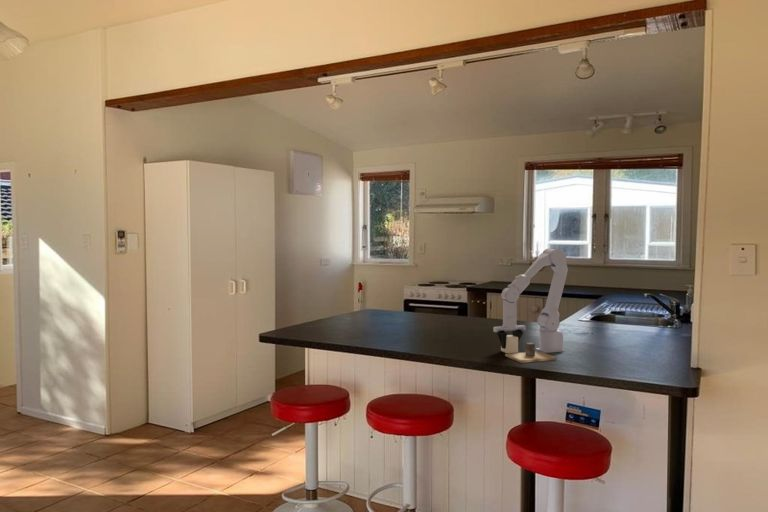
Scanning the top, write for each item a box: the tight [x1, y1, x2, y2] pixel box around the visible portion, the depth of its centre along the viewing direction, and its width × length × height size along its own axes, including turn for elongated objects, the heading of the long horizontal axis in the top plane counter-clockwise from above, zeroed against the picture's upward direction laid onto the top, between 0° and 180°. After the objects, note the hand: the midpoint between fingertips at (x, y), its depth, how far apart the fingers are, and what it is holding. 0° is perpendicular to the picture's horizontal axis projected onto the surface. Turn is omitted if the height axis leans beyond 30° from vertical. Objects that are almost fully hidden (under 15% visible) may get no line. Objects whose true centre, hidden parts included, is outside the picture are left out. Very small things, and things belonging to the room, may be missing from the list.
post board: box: [504, 342, 557, 364], centre depth 222 cm, size 16×12×6 cm
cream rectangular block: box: [500, 334, 519, 354], centre depth 233 cm, size 5×5×7 cm
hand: (509, 347), depth 233 cm, fingers closed on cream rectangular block, 5 cm apart
